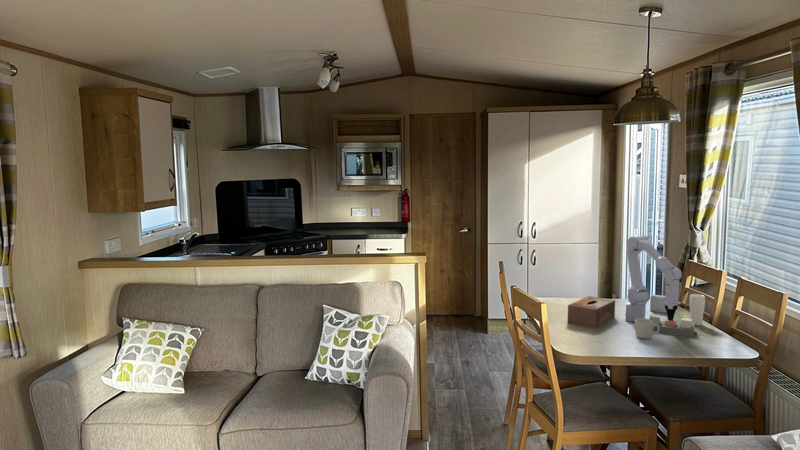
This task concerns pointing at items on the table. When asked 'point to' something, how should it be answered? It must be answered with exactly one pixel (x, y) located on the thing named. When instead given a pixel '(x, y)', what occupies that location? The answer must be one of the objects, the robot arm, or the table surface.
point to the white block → (686, 323)
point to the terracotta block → (670, 322)
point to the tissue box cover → (591, 312)
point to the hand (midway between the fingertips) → (670, 320)
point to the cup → (645, 328)
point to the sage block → (655, 318)
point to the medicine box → (657, 303)
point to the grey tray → (674, 329)
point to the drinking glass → (697, 308)
